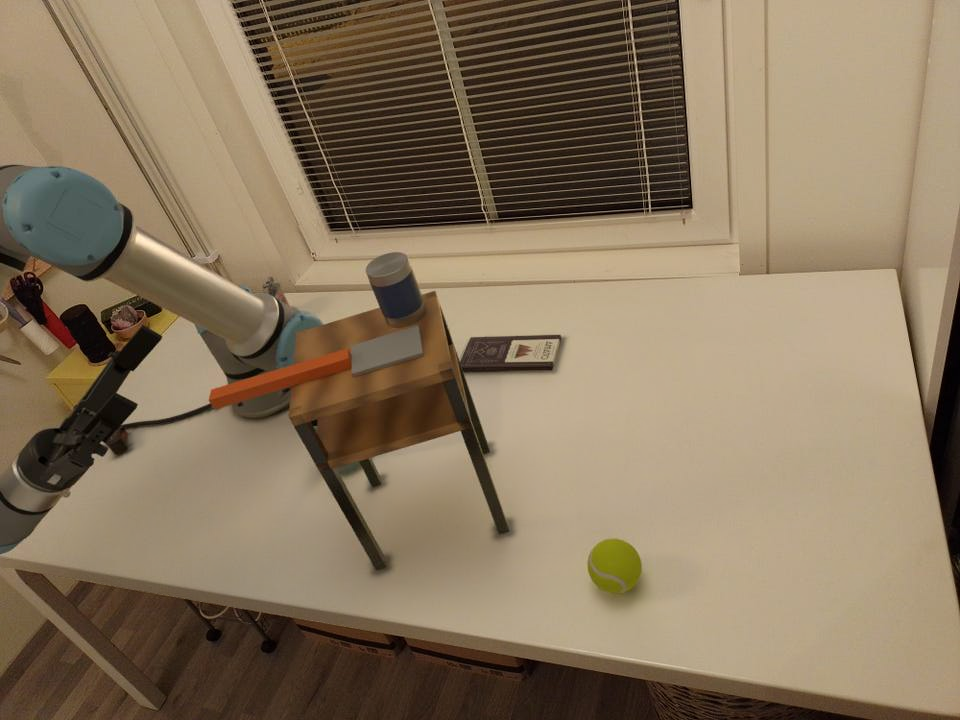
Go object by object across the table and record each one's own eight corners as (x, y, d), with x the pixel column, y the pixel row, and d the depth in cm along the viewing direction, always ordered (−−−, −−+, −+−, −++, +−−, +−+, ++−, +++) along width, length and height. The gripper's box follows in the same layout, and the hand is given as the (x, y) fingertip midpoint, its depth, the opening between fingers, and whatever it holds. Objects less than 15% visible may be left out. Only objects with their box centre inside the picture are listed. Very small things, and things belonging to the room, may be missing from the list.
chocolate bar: (470, 337, 138) (560, 334, 131) (471, 341, 138) (561, 338, 132) (457, 367, 131) (551, 366, 125) (459, 371, 132) (552, 370, 125)
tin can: (386, 332, 91) (365, 281, 86) (384, 309, 96) (364, 259, 91) (428, 320, 91) (410, 268, 86) (424, 297, 95) (406, 246, 91)
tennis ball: (586, 599, 89) (577, 568, 85) (597, 555, 94) (590, 524, 90) (639, 609, 87) (633, 577, 83) (648, 563, 91) (643, 531, 87)
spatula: (212, 419, 86) (206, 410, 85) (219, 389, 90) (213, 380, 89) (424, 356, 85) (420, 345, 84) (419, 328, 90) (415, 318, 89)
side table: (376, 570, 101) (288, 417, 82) (371, 480, 115) (296, 332, 97) (509, 531, 101) (451, 368, 82) (488, 445, 115) (435, 290, 96)
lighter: (287, 327, 160) (269, 291, 154) (273, 330, 160) (254, 294, 154) (295, 307, 166) (277, 272, 160) (281, 310, 167) (263, 275, 161)
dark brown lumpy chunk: (128, 430, 144) (119, 419, 142) (129, 450, 138) (120, 439, 136) (106, 441, 143) (97, 429, 141) (106, 461, 137) (96, 450, 135)
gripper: (102, 418, 102) (187, 323, 95) (44, 557, 82) (146, 450, 75) (50, 393, 98) (134, 292, 91) (-24, 532, 78) (76, 417, 71)
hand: (140, 363), depth 83 cm, fingers open, 13 cm apart
